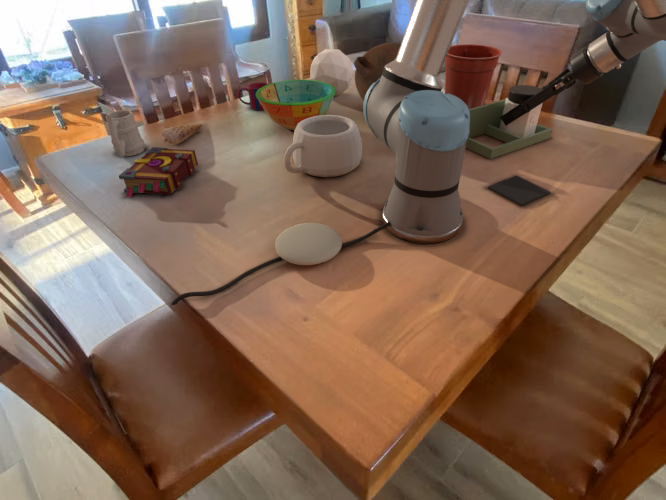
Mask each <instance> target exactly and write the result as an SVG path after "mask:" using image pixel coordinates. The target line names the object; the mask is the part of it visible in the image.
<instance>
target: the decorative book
mask: <svg viewBox="0 0 666 500" xmlns="http://www.w3.org/2000/svg"><path fill="white" fill-rule="evenodd" d="M133 163H134V164H132V165H131V166H130V167H128V168H126V169H124V171H122V172H121V173H120V174H119V175H118V179H119V180H123V182H124V185H125V188H123V192H124V193H126V196H125V197H126V198H133V194H154V195H155V194H157V195H172V193H173V192H174V191H175V190H179V189H180V188H181V187H182V186H183V181H185V180H186V179H187V177H188V176H191V175H192V174H193V173H194V172H195V169H196V167H197V166H198V165H199V163H198V158H197V154H196V150H195V149H182V148H181V149H180V148H168V147H160V146H159V147H156V146H152V147H151V148H150V149H149V150H147V151H146V152H145V153H144V155H143V156H142V157H141V158H137V159H135V160H134V161H133Z"/></svg>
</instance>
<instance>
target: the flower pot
mask: <svg viewBox="0 0 666 500" xmlns="http://www.w3.org/2000/svg"><path fill="white" fill-rule="evenodd" d="M502 55H503V51H502V50H501V49H499V48H497V47H494V46H489V45H483V44H472V43H471V44H469V43H467V44H463V43H462V44H454V45H451V46H450V49H449V51H448V54H447V56H446V59H445V61H444V66H445V77H444V94H448V93H449V94H452V95H454V96H456V97H458V98H459V99H461V100H462V101H463V102H464V103H465V104H466V105H467V107H468V109H471V108H475V107H479V106H482V105H485V103H486V99H487V96H488V93H489V89H490V86H491V82H492V78H493V75H494V73H495V72H494V71H495V69H496V68H497V65H498V62H499V58H500V57H501V56H502Z"/></svg>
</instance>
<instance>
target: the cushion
mask: <svg viewBox="0 0 666 500" xmlns="http://www.w3.org/2000/svg"><path fill="white" fill-rule="evenodd" d="M342 244H343V240H342V236H341V234H340V233H339V232H338V231H337V230H336V229H334V228H333V227H331V226H329V225H326V224H323V223H319V222H304V223H298V224H295V225H292V226H289V227H287V228H285V229H284V230H283V231H282V232H280V233H279V235H277V237H276V239H275V242H274V250H275V252H276V254H277V255H278V257H281V258H282V259H284V260H283V261H285V262H287V263H289V264H292V265H298V266H314V265H320V264H323V263H326V262H328V261H330V260H332V259H333V258H335V257H336V256H337V255H338V253H339V252H340V251H341V249H342V248H341V246H342Z"/></svg>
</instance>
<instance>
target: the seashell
mask: <svg viewBox="0 0 666 500" xmlns="http://www.w3.org/2000/svg"><path fill="white" fill-rule="evenodd" d="M204 125H205V123H195V124H184V125H183V124H182V125H177V126H176V125H175V126H171V127H167V128H165V129H163V130H162V131H161V136H162V137H163V138H164V139H163V142H164V143H169V144H170V145H178V144H181V143H182V142H184V141H185V140H187V139H188V138H190V137H191V136H193V135H195V133H197V131H199V130H200V129H201V128H202V127H203V126H204Z"/></svg>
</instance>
